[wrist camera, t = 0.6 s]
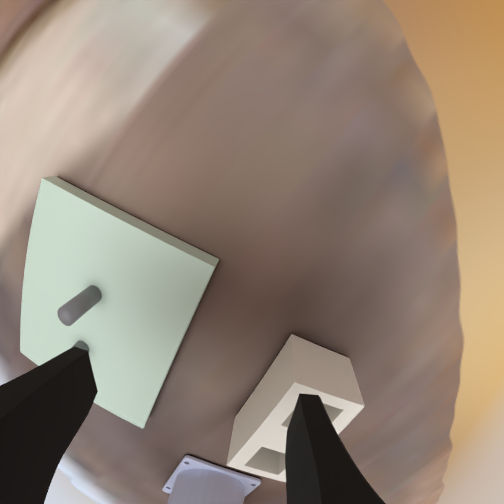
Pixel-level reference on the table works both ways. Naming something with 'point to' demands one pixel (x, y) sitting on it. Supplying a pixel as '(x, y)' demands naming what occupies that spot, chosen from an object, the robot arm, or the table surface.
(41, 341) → the pin plate
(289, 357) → the beige hollow block
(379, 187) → the table surface
